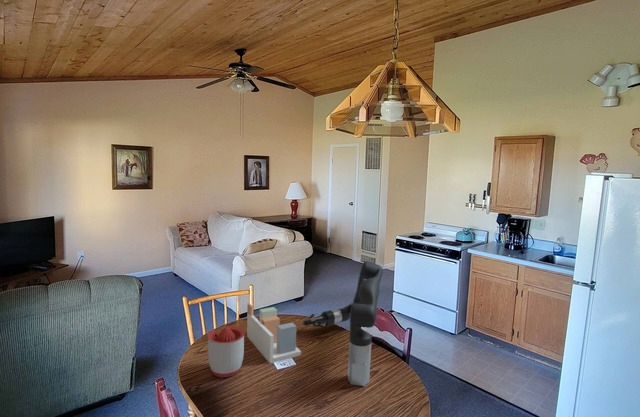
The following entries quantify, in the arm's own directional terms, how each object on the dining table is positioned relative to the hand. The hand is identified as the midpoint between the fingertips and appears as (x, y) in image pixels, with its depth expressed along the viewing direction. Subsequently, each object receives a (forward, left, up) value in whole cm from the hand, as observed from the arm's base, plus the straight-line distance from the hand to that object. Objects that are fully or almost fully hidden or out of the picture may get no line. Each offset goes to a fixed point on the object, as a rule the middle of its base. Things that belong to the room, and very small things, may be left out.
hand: (303, 323), depth 195 cm
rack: (-11, +13, -8) cm, 19 cm away
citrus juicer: (-37, +27, -8) cm, 47 cm away
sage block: (-2, +19, -6) cm, 20 cm away
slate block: (-18, +5, -6) cm, 20 cm away
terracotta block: (-12, +14, -6) cm, 20 cm away
